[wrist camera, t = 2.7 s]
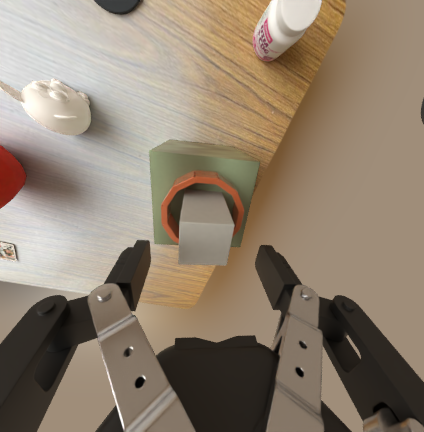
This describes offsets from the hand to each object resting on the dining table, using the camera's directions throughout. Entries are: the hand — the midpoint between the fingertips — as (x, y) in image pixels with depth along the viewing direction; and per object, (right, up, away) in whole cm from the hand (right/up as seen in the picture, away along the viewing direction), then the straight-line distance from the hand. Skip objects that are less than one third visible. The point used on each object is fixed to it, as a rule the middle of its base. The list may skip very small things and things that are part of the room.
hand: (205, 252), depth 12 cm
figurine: (-21, +19, +13) cm, 31 cm away
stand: (-2, +10, +19) cm, 22 cm away
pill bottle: (+8, +27, +11) cm, 30 cm away
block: (-1, +4, +7) cm, 8 cm away
